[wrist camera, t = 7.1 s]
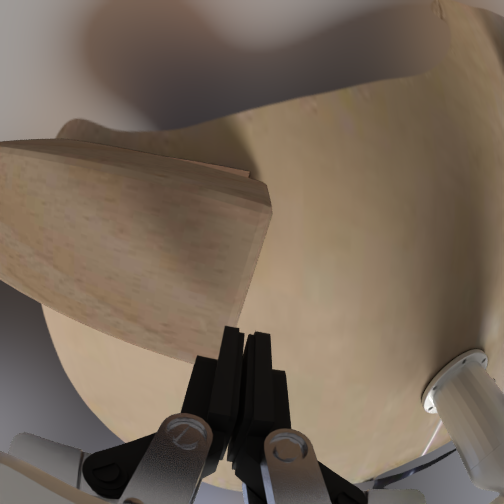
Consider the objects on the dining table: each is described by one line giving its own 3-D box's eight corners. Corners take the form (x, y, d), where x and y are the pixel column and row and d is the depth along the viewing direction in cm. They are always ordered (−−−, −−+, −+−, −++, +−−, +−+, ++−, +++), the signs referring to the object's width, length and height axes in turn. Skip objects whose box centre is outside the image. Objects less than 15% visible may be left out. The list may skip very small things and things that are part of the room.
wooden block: (269, 183, 21) (62, 138, 19) (276, 205, 11) (-16, 142, 10) (235, 294, 24) (52, 235, 23) (221, 375, 15) (-15, 272, 13)
